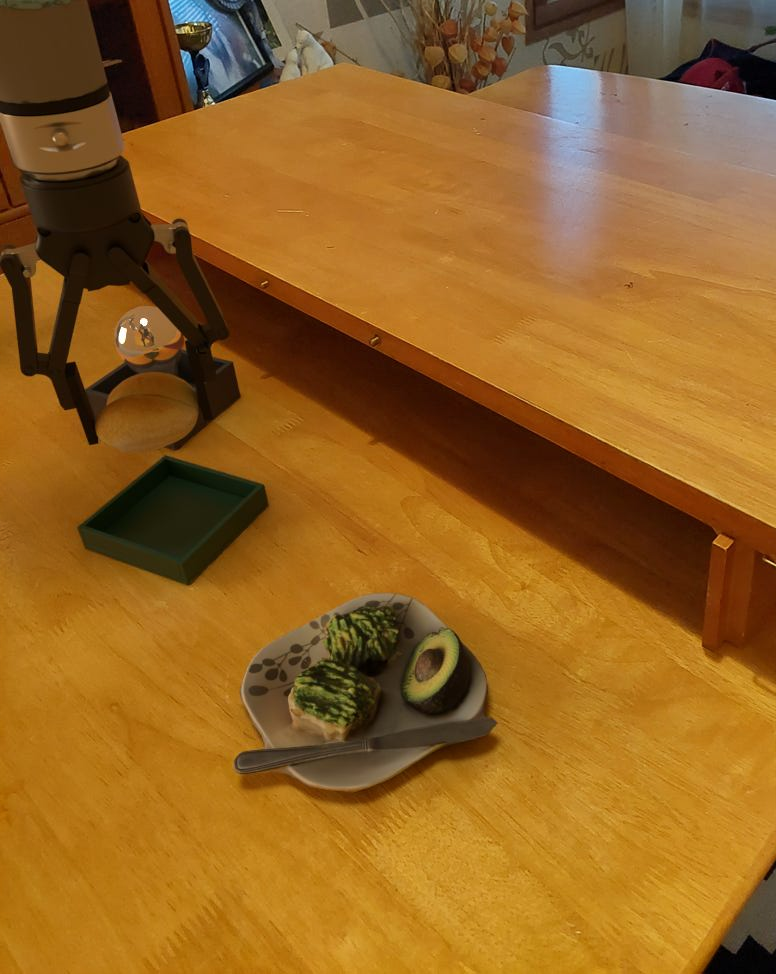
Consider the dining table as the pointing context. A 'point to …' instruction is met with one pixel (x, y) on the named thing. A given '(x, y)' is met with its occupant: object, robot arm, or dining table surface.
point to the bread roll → (148, 412)
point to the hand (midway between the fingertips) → (150, 423)
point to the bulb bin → (218, 390)
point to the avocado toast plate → (362, 694)
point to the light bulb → (148, 341)
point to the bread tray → (174, 518)
